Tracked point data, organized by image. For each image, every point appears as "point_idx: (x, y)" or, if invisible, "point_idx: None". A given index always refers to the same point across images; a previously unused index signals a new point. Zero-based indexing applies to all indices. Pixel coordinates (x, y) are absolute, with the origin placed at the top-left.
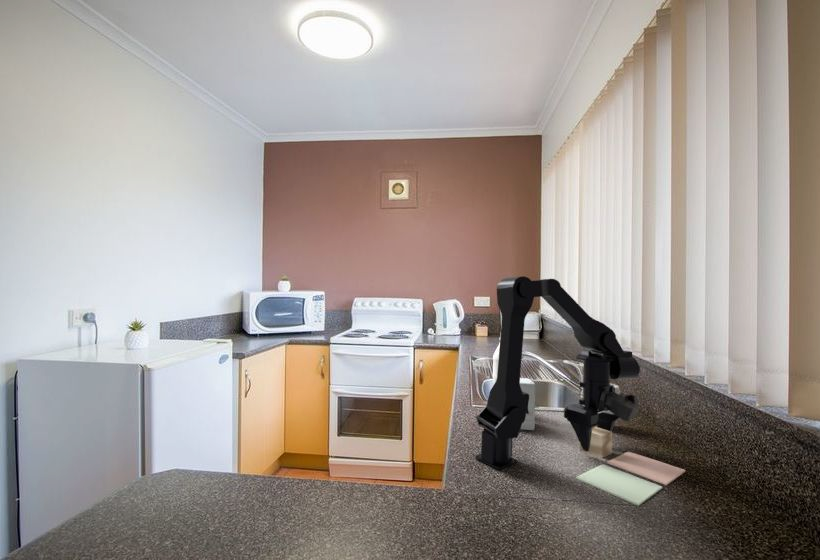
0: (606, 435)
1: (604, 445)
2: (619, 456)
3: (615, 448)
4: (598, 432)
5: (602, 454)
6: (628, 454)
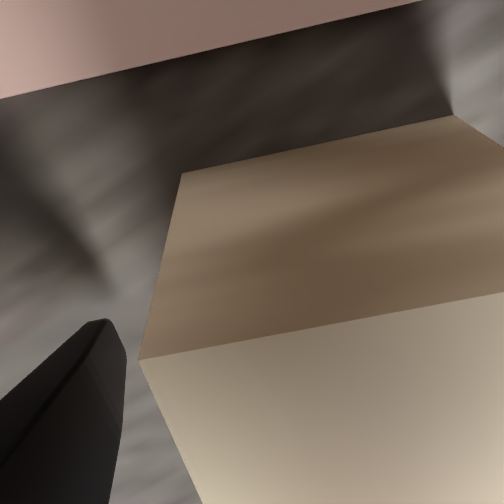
0: (419, 283)
1: (437, 183)
2: (221, 32)
3: (4, 254)
4: (497, 400)
5: (447, 131)
6: (8, 37)
